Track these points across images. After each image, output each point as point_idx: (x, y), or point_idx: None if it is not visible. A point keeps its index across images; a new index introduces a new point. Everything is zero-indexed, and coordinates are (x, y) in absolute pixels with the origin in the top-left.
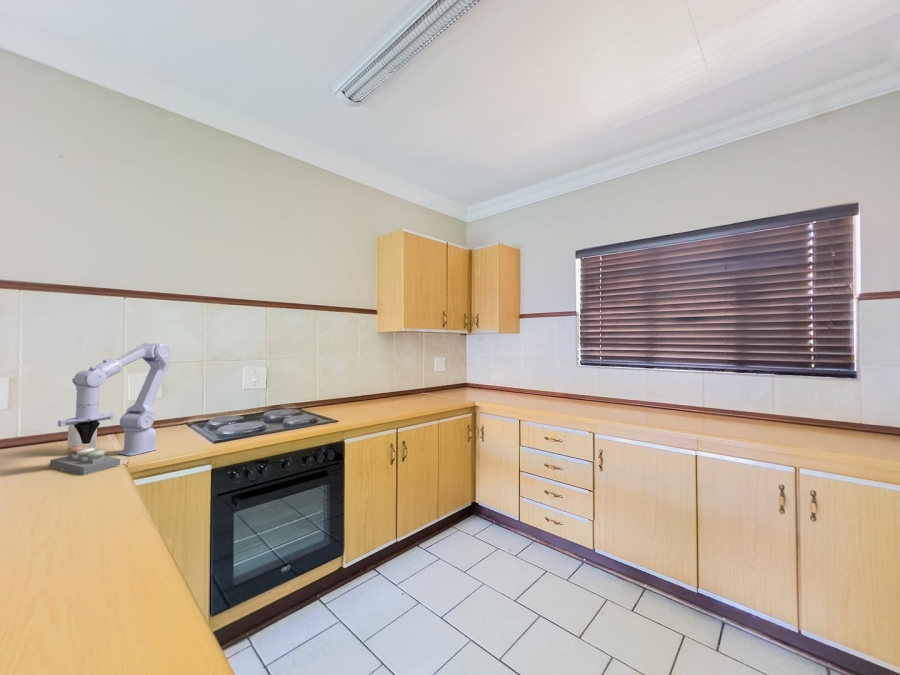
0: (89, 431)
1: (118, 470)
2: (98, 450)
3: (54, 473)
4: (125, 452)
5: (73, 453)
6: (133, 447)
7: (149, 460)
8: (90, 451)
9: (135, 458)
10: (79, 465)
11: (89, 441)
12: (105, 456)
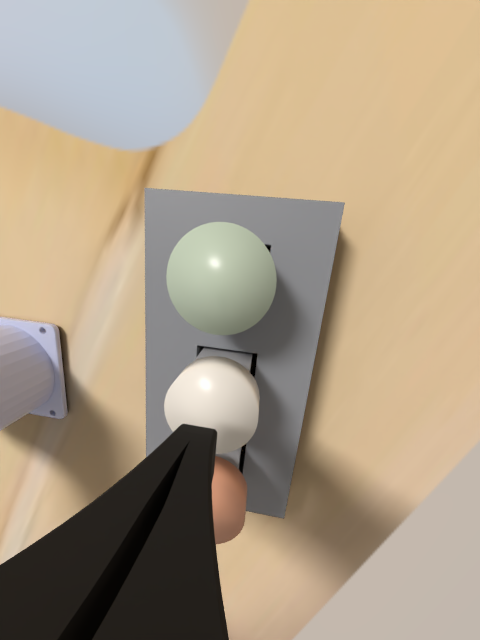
0: (120, 566)
1: (217, 109)
2: (198, 289)
3: (342, 381)
4: (50, 375)
5: (234, 467)
6: (1, 350)
7: (45, 148)
8: (239, 318)
9: (64, 267)
10: (318, 279)
11: (182, 432)
12: (152, 332)
